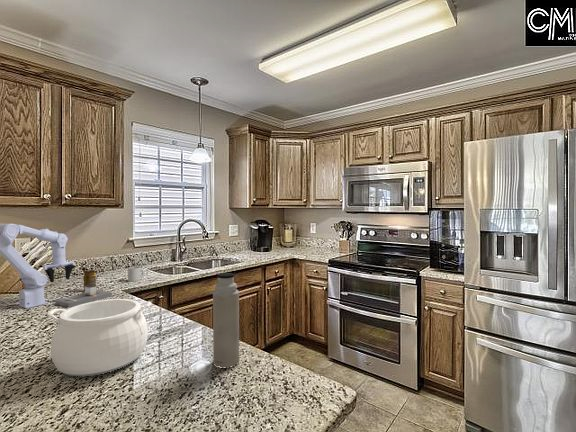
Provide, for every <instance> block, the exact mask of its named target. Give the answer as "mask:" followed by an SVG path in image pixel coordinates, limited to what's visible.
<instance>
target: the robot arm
mask: <svg viewBox="0 0 576 432" xmlns="http://www.w3.org/2000/svg"><path fill="white" fill-rule="evenodd" d="M22 234H23V235H29V236H33V237H36V239H37V240H39V241H43V242H48V243H50V244H51V250H52V251H51V253H52V254H51V256H52V263H51V264H47V265H42V270H44V272H45V273H46V274H45V273H42V272H40V271H39V270H37V269H35V268H34V267H33V266H32V265H31V264H30V263H29V262H28V261H27V260H26V259H25V258H24V256H23V255H21V254H20V253H19V252H18V251H17V249H16V248H15V247H14V246H13V245H12V244H13V242H14V241H15V240H16V238H17V236H18V235H22ZM68 240H69V238H68V236H67V235H66V234H65V233H62V232H61V233H60V232H59V233H58V231H56V230H55V231H52V230H49V228H41V229H36V228H32V227H29V226H26V225H23V224H15V223H3V222H2V223H0V255H1V256H2V257H3V258H4V259H5V260H6V261H7V262H8V263H9V264H10V265H11V266H12V267H13V268H14V269H15V271H17V272H18V274H20V275H19V278H20V279H21V282H22V284H23V285H24V287H25V288H23V289H20V290H19V292H18V304H19V305H18V307H21V308H24V309H29V308H33V307H38V306H43V305H47V304H49V302H48V301H46V300H45V285H46V284H47V283H48V279H49V282H50V283H54V282H55V271H56V270H55V268H57V269H58V268H62V267H64V271H65V280H69V279H70V278H71V274H72V272H73V270H74V268H75V265H76V263H75V261H74V260H72V261H67V260H66V259H67V258H66V246H67V242H68Z"/></svg>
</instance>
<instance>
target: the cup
mask: <svg viewBox="0 0 576 432" xmlns="http://www.w3.org/2000/svg"><path fill="white" fill-rule="evenodd" d="M144 276H145V270H144V268H142V267H140V266H130V267H128V268H127V281H128V282H129V283H136V282H137V283H138V282H140V281H141V279H142V278H144Z"/></svg>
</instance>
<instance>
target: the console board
mask: <svg viewBox="0 0 576 432" xmlns="http://www.w3.org/2000/svg"><path fill="white" fill-rule="evenodd" d="M112 296H113V294H112V292H111V291H110V292H109V291H106V290H100V289H97V291H96V294H93V295H87V294H85V293H80V294H76V295H70V296H68V297H64V298H58V299H55V301H54V304H55V305H57V306H61V307H64V308H65V307H66V308H72V307H74V306H78V305H81V304H85V303H89V302H95V301H100V300H104V299H107V298H110V297H112ZM106 297H107V298H106ZM99 299H100V300H99Z"/></svg>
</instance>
